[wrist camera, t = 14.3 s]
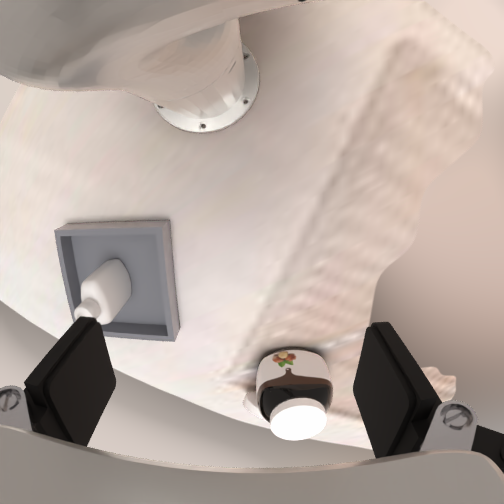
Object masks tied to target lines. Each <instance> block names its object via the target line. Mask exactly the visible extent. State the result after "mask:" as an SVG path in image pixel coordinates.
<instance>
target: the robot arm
mask: <svg viewBox="0 0 504 504" xmlns="http://www.w3.org/2000/svg"><path fill="white" fill-rule="evenodd" d="M315 1H322V0H0V75H2V76H4V77H6V78H8V79H10V80H12V81H15V82H18V83H21V84H24V85H26V86H31V87H35V88H40V89H45V90H53V91H76V92H79V91H104V90H121V91H125V92H128V93H131V94H134V95H136V96H138V97H140V98H143V99H145V100H148V101H150V102H152V103H153V105H154V107H155V108H156V110H157V112H158V113H159V114H160V115H161V117H162V118H163V119H164V120H165V121H167V122H168V123H169V124H171V125H172V126H174V127H176V128H178V129H181V130H184V131H188V132H193V133H210V132H215V131H219V130H222V129H224V128H227V127H229V126H230V125H232V124H234V123H236V122H237V121H238V120H239V119H240V118H242V117H243V116H244V115H245V114H246V113H247V111H248V110H249V109H250V108H251V106H252V104H253V102H254V100H255V99H256V95H257V92H258V89H259V70H258V65H257V62H256V60H255V58H254V56H253V54H252V53H251V51H250V50H249V49H248V47H246V46H245V45H244V44H243V43H242V42H241V36H240V26H239V19H238V18H240V17H244V16H248V15H251V14H255V13H259V12H264V11H268V10H272V9H277V8H282V7H287V6H292V5H297V4H303V3H309V2H315ZM244 56H247V57H248V58H247V59H244ZM244 100H247V101H248V103H247V104H244ZM162 107H164V108H162ZM203 124H205V125H206V127H205V128H204V129H203V128H202V125H203ZM24 384H25V386H26V388H25V389H24V391H23V390H22V389H21V388H20V387H17V386H5V387H2V388H0V504H504V434H502V433H499V432H496V431H493V430H490V429H487V428H485V427H482V426H479V425H477V415H476V412H475V411H474V410H473V408H472V407H470V406H469V405H468V404H466V403H464V402H461V401H456V400H450V401H446V402H443V403H442V401H441V400H440V398H439V397H438V395H437V393H436V392H435V390H434V389H433V387H432V385H431V384H430V382H429V381H428V379H427V378H426V376H425V374H424V373H423V371H422V370H421V368H420V367H419V365H418V364H417V362H416V361H415V359H414V358H413V356H412V355H411V353H410V352H409V351H408V349H407V347H406V346H405V345H404V343H403V342H402V340H401V339H400V337H399V336H398V334H397V333H396V331H395V330H394V328H393V327H392V326H391V324H390V323H389V322H375V323H372V325H371V327H368V328H367V329H366V333H365V338H364V342H363V347H362V351H361V356H360V360H359V364H358V368H357V372H356V377H355V380H354V385H353V393H354V396H355V399H356V402H357V405H358V408H359V410H360V413H361V416H362V419H363V422H364V425H365V428H366V431H367V434H368V437H369V439H370V442H371V445H372V448H373V451H374V454H375V457H376V459H369V460H363V461H355V462H347V463H338V464H329V465H319V466H306V467H286V468H229V467H211V466H198V465H187V464H178V463H169V462H162V461H155V460H149V459H142V458H137V457H131V456H125V455H121V454H116V453H111V452H106V451H102V450H98V449H94V448H90V447H87V445H88V443H89V441H90V438H91V436H92V434H93V432H94V430H95V428H96V426H97V424H98V422H99V419H100V417H101V415H102V413H103V411H104V409H105V407H106V405H107V403H108V401H109V399H110V397H111V395H112V393H113V391H114V389H115V386H116V378H115V375H114V371H113V368H112V364H111V361H110V357H109V354H108V350H107V346H106V342H105V338H104V334H103V330H102V326H101V324H100V322H97V320H96V318H94V317H85V316H80V317H79V318H78V319H77V320H76V321H75V322H74V323H73V325H72V326H71V327H70V328H69V329H68V330H67V331H66V332H65V334H64V335H63V336H62V337H61V338H60V339H59V341H58V342H57V343H56V344H55V345H54V346H53V348H52V349H51V350H50V351H49V352H48V354H47V355H46V356H45V357H44V358H43V359H42V361H41V362H40V363H39V364H38V365H37V367H36V368H35V369H34V370H33V372H32V373H31V374H30V375H29V377H28V378H27V379H26V380H25V382H24Z"/></svg>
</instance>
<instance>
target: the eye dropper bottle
mask: <svg viewBox="0 0 504 504" xmlns="http://www.w3.org/2000/svg"><path fill="white" fill-rule="evenodd" d="M130 296H131V280H130V277H129V274H128V271H127V269H126V268H125V266H124V264H123V263H122V262H121V261H120V260H119V259H112V260H107V261H106V262H105V263H103V264H102V265H101V266H100V267H99V268H98V269H96V270H95V271H94V272H93V273H92V274H91V275H90V276H88V277H87V278H86V279H85V280H84V281H83V283H82V285H81V300H82V303H81V304H80V305H79V306H78V307H77V308H76V309H75V311H74V316H75V319H76V320H77V319H78V318H79V317H80V316H85V317H94V318H96V320H97V322H100V324H101V325H102V324H108V323H110V322H111V321H112V320H113V319H114V318H115V316H116V315H117V314H118V312H119V311H120V310H121V308H122V307H123V306H124V304H125V303H126V302H127V300H128V299H129V298H130Z"/></svg>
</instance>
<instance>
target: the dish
mask: <svg viewBox="0 0 504 504" xmlns="http://www.w3.org/2000/svg"><path fill="white" fill-rule="evenodd" d="M54 232H55V238H56V244H57V250H58V256H59V261H60V267H61V272H62V276H63V281H64V286H65V290H66V294H67V299H68V303H69V307H70V311H71V315H72V318H73V322H75V321H76V319H75V316H74V311H75V309H76V308H77V307H78V306H79V305H80V304H81V303H82V300H81V285H82V283H83V281H84V280H85V279H86V278H87V277H88V276H90V275H91V274H92V273H93V272H94V271H95V270H96V269H98V268H99V267H100V266H101V265H102V264H103V263H105V262H106V261H107V260H112V259H119V260H120V261H121V262H122V263H123V264H124V266H125V268H126V269H127V271H128V274H129V277H130V280H131V296H130V298H129V299H128V300H127V302H126V303H125V304H124V306H123V307H122V308H121V310H120V311H119V312H118V314H117V315H116V316H115V318H114V319H113V320H112V321H111V322H110V323H108V324H102V325H101V326H102V330H103V334H104V336H107V337H118V338H129V339H141V340H156V341H172V342H175V340H176V337H177V335H178V332H179V329H180V322H179V314H178V306H177V297H176V287H175V277H174V267H173V255H172V243H171V230H170V220H154V221H120V222H94V223H71V224H66V225H64V226H62V227H60V228H58V229H56V230H54Z"/></svg>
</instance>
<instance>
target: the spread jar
mask: <svg viewBox="0 0 504 504" xmlns="http://www.w3.org/2000/svg"><path fill="white" fill-rule="evenodd" d="M332 397H333V386H332V380H331V376H330V373H329V370H328V367H327V364H326V362H325V361H324V359H323V358H322V357H321V356H319V355H318V354H316V353H314V352H312V351H309V350H306V349H302V348H285V349H281V350H278V351H275V352H273V353H271V354H269V355H267V356H266V357H265V358H264V359H263V360H262V361H261V363H260V365H259V367H258V371H257V377H256V392H248V393H247V394H246V396H245V398H244V400H243V405H244V407H245V408H246V409H247V410H248V411H249V412H250V413H251V414H253V415H254V416H256V417H258V418H260V419H262V420H265V421H268V422H269V423H270V427H271V430H272V432H273V433H274V434H275V435H276V436H278V437H280V438H282V439H286V440H303V439H307V438H310V437H312V436H314V435H316V434H318V433H319V432H320V431H321V430H322V429H323V428H324V427H325V425H326V423H327V416H326V413H327V412H328V410H329V408H330V405H331V403H332Z"/></svg>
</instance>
